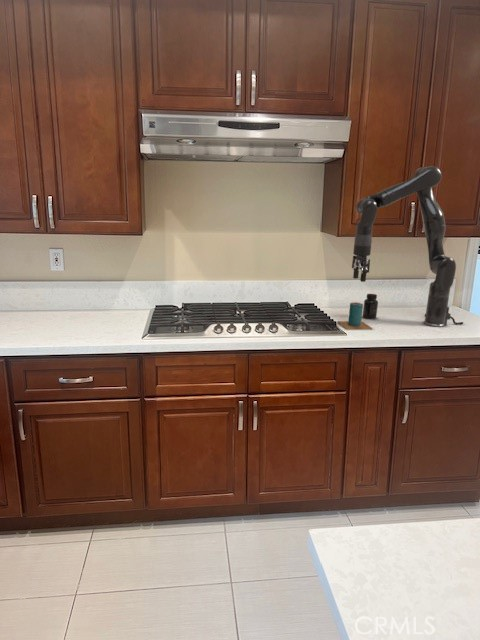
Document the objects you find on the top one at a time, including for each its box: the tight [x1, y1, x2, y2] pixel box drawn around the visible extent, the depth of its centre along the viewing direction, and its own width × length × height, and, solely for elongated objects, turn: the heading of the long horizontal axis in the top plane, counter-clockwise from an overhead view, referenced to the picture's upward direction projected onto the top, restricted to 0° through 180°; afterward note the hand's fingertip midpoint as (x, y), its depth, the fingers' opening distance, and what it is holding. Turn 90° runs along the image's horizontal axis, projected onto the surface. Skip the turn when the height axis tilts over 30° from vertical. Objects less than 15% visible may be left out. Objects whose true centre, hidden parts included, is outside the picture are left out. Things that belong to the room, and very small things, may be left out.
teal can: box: [347, 302, 364, 326], centre depth 218 cm, size 6×6×10 cm
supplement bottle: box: [362, 293, 379, 320], centre depth 234 cm, size 7×7×12 cm
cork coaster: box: [337, 320, 373, 330], centre depth 219 cm, size 12×12×1 cm
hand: (359, 279), depth 214 cm, fingers open, 8 cm apart
